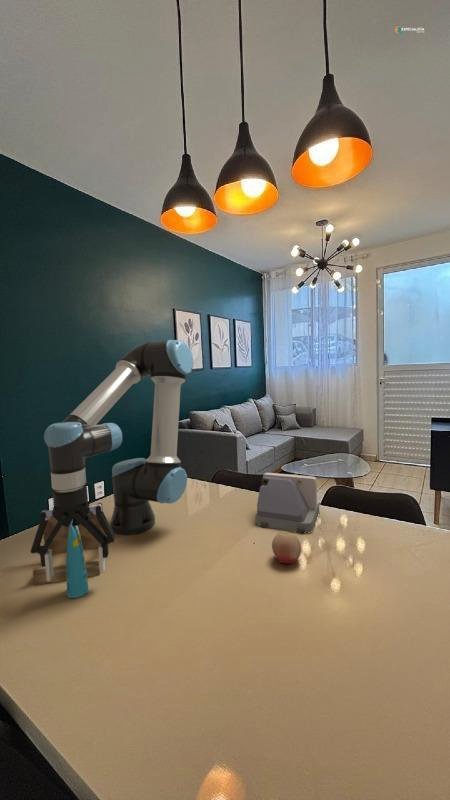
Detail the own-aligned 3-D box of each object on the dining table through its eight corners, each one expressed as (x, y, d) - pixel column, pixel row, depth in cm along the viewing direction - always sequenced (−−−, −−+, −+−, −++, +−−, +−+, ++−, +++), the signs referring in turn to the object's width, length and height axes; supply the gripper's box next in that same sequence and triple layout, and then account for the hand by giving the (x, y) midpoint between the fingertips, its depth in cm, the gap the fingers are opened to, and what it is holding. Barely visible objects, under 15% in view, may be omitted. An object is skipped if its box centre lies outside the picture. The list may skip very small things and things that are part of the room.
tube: (89, 597, 81) (83, 520, 80) (67, 604, 79) (60, 525, 78) (87, 581, 88) (81, 509, 87) (66, 587, 86) (60, 513, 85)
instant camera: (327, 514, 122) (326, 473, 121) (306, 539, 105) (305, 492, 104) (273, 504, 134) (272, 466, 133) (247, 524, 117) (245, 482, 116)
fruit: (304, 555, 95) (303, 528, 95) (297, 571, 88) (296, 541, 88) (276, 550, 99) (275, 524, 98) (268, 565, 92) (267, 536, 91)
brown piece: (105, 552, 102) (102, 507, 101) (99, 574, 91) (95, 524, 90) (48, 561, 99) (43, 514, 98) (34, 584, 88) (29, 532, 86)
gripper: (122, 477, 88) (128, 558, 89) (21, 487, 83) (29, 572, 85) (119, 486, 80) (125, 574, 82) (8, 498, 76) (17, 591, 77)
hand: (77, 573), depth 83 cm, fingers open, 11 cm apart
